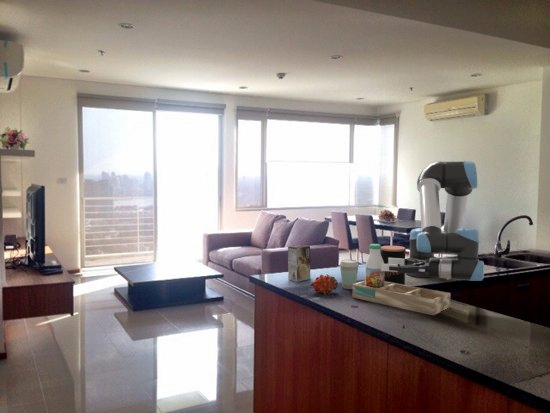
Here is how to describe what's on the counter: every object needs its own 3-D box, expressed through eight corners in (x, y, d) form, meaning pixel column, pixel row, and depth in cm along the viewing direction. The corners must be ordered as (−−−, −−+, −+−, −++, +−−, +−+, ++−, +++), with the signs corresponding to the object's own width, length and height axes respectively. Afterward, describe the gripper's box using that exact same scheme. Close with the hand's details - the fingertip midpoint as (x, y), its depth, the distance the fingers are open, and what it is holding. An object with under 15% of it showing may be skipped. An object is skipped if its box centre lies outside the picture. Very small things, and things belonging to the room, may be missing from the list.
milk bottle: (361, 291, 197) (361, 243, 195) (376, 289, 200) (377, 242, 198) (372, 296, 190) (372, 246, 188) (388, 294, 193) (388, 245, 191)
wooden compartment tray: (370, 291, 204) (370, 278, 204) (450, 307, 179) (450, 293, 179) (351, 297, 194) (351, 284, 194) (432, 315, 169) (433, 300, 169)
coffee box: (301, 276, 234) (301, 244, 232) (310, 279, 229) (310, 245, 228) (287, 279, 228) (287, 246, 226) (297, 282, 223) (296, 248, 222)
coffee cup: (358, 290, 206) (358, 263, 205) (338, 289, 208) (338, 262, 207) (359, 285, 215) (359, 259, 214) (340, 284, 216) (340, 258, 215)
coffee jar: (375, 287, 210) (375, 247, 209) (387, 283, 218) (388, 244, 217) (397, 291, 203) (397, 250, 202) (409, 287, 211) (409, 247, 210)
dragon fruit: (340, 296, 202) (312, 301, 201) (335, 281, 209) (308, 286, 208) (340, 283, 197) (312, 288, 196) (335, 268, 203) (308, 273, 202)
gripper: (435, 284, 172) (377, 279, 181) (443, 271, 194) (391, 267, 203) (436, 264, 171) (377, 260, 181) (443, 253, 194) (391, 250, 203)
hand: (384, 263), depth 192 cm, fingers open, 13 cm apart
